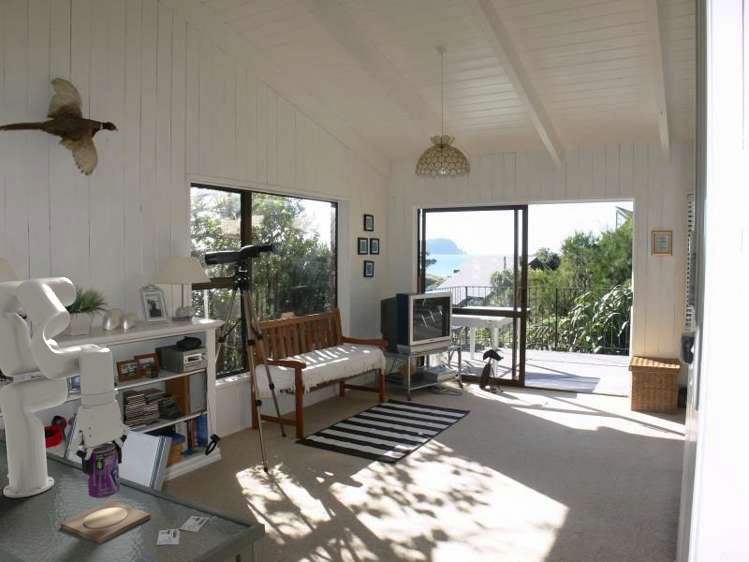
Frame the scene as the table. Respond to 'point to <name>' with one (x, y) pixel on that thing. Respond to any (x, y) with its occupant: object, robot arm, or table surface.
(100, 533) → the board
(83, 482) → the table surface
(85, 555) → the table surface
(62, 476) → the table surface
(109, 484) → the beverage can
